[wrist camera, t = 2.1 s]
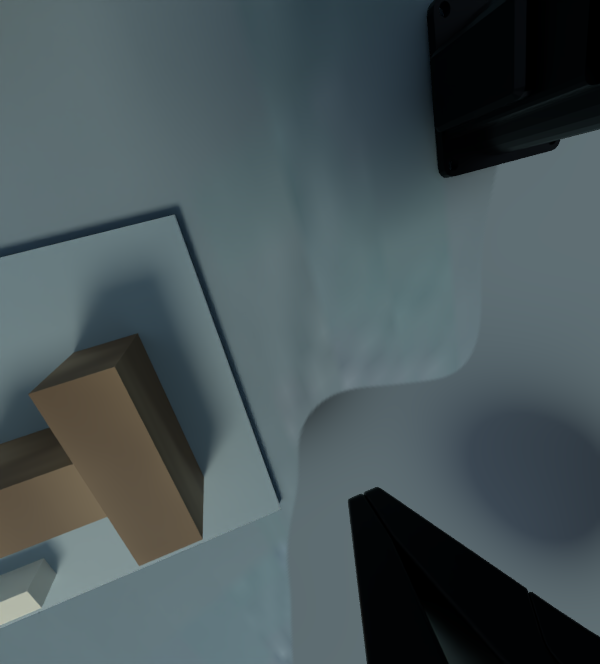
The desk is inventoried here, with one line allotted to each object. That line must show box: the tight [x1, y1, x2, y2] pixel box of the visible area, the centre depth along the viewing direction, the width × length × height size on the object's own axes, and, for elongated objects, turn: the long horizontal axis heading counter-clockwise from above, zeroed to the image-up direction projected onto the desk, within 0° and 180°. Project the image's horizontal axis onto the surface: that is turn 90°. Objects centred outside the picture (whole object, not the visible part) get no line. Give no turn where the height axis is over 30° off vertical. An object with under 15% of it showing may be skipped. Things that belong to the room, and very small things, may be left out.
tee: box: [0, 333, 204, 566], centre depth 12 cm, size 7×8×4 cm
